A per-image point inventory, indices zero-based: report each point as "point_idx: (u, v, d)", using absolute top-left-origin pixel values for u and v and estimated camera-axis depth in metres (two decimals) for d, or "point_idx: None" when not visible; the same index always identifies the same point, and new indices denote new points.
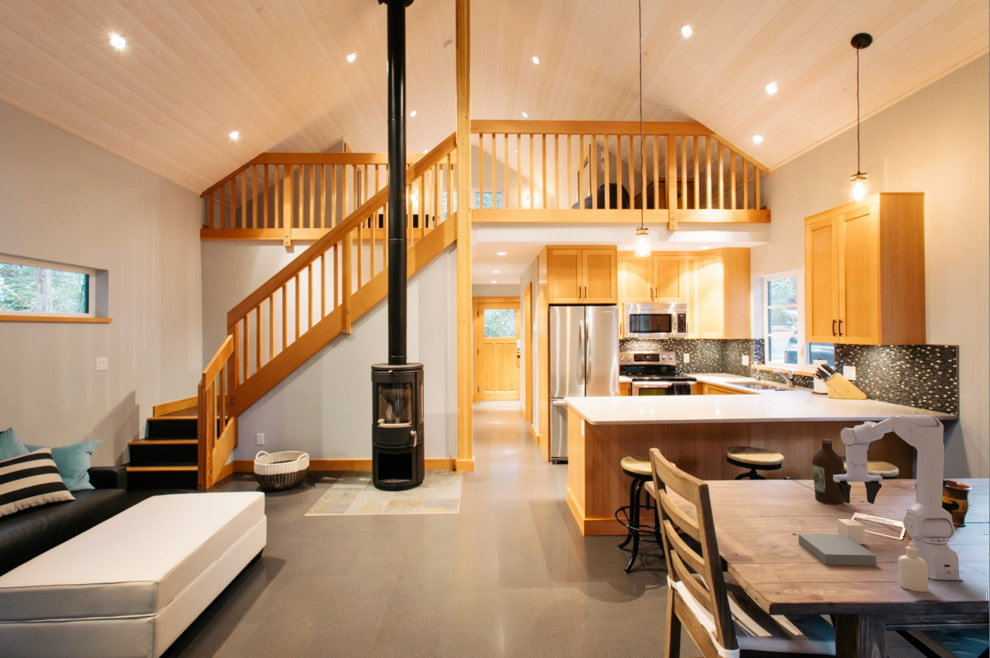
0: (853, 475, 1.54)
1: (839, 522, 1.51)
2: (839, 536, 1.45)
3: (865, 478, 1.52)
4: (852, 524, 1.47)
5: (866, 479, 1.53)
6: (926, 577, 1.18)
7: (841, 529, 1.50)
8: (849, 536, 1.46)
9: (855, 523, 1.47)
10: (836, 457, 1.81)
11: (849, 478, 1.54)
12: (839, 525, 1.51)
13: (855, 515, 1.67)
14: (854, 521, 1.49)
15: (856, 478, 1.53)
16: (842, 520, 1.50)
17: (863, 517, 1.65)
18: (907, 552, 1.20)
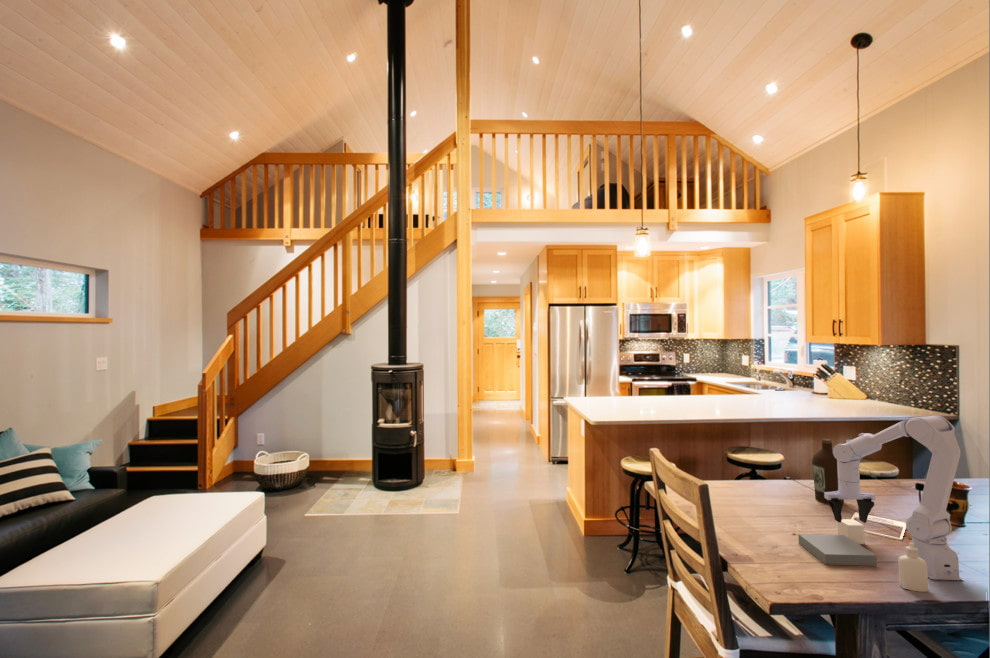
0: (845, 493, 1.48)
1: (839, 522, 1.51)
2: (839, 536, 1.45)
3: (857, 496, 1.46)
4: (852, 524, 1.47)
5: (858, 497, 1.46)
6: (926, 577, 1.18)
7: (841, 529, 1.50)
8: (849, 536, 1.46)
9: (855, 523, 1.47)
10: None
11: (841, 496, 1.48)
12: (839, 525, 1.51)
13: (855, 515, 1.67)
14: (854, 521, 1.49)
15: (848, 496, 1.47)
16: (842, 520, 1.50)
17: None
18: (907, 552, 1.20)
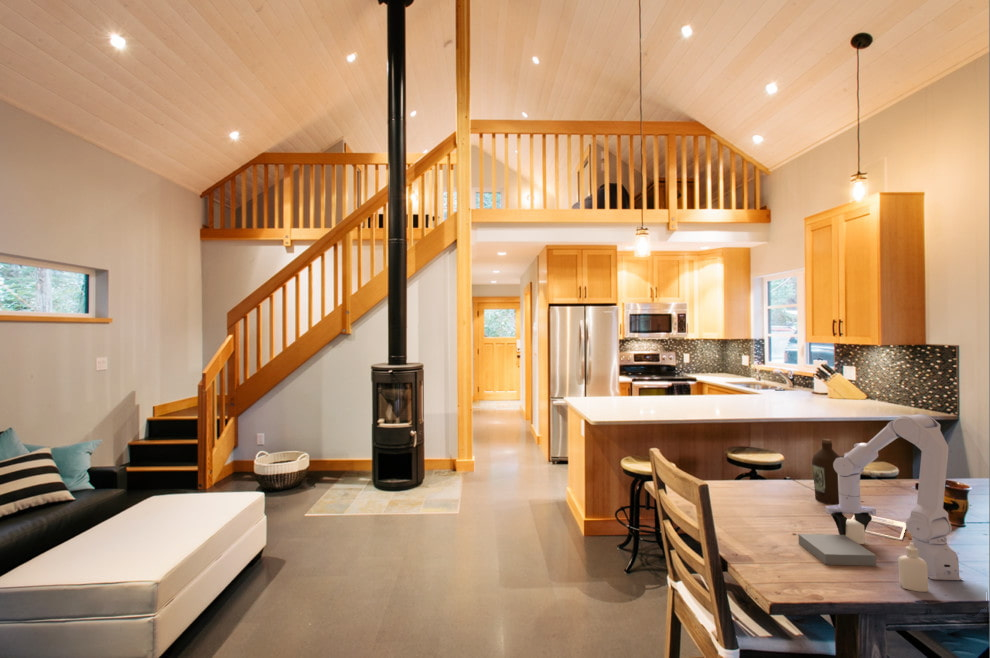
0: (845, 507, 1.47)
1: None
2: (839, 536, 1.45)
3: (858, 510, 1.46)
4: (852, 523, 1.47)
5: (859, 511, 1.46)
6: (926, 577, 1.18)
7: None
8: (849, 536, 1.46)
9: (855, 523, 1.48)
10: (836, 457, 1.81)
11: (841, 510, 1.47)
12: None
13: None
14: (854, 521, 1.49)
15: (849, 510, 1.47)
16: None
17: None
18: (907, 552, 1.20)
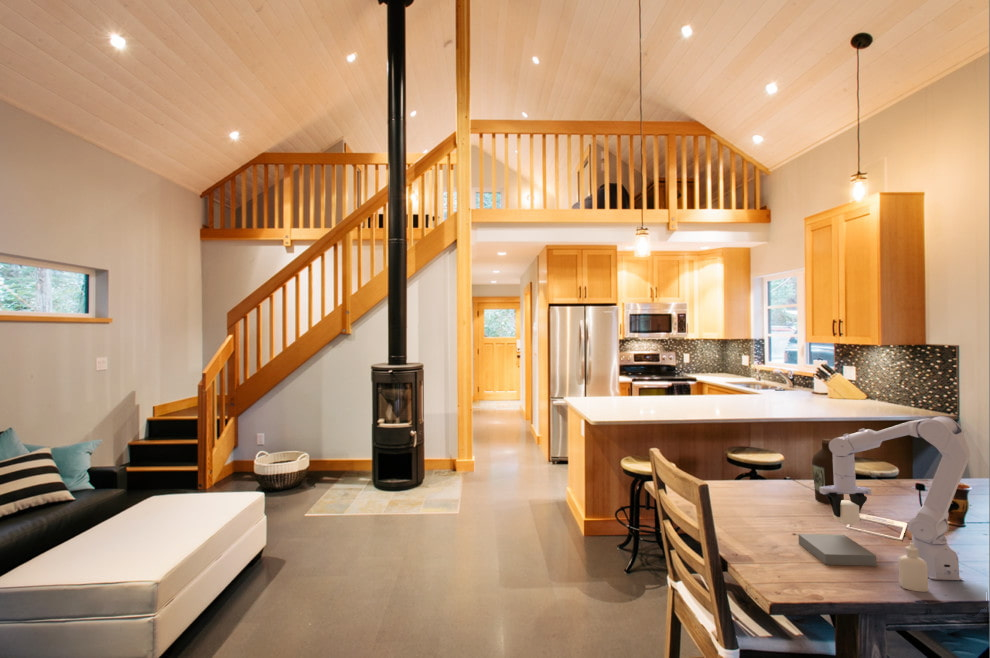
0: (840, 487, 1.45)
1: None
2: (839, 536, 1.45)
3: (853, 491, 1.44)
4: (846, 504, 1.45)
5: (854, 491, 1.44)
6: (926, 577, 1.18)
7: None
8: (844, 516, 1.44)
9: (850, 504, 1.45)
10: None
11: (836, 490, 1.45)
12: None
13: None
14: (849, 502, 1.47)
15: (843, 490, 1.45)
16: None
17: (863, 517, 1.65)
18: (907, 552, 1.20)
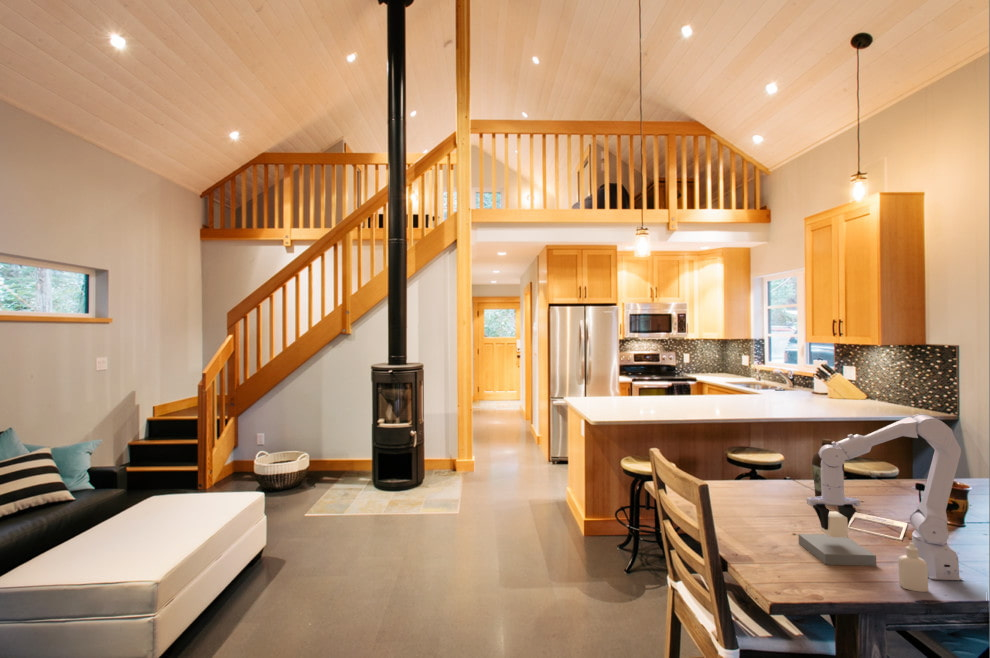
0: (828, 498, 1.39)
1: None
2: None
3: (841, 502, 1.37)
4: (834, 516, 1.39)
5: (842, 503, 1.37)
6: (926, 577, 1.18)
7: None
8: (831, 529, 1.38)
9: (838, 516, 1.39)
10: None
11: (824, 501, 1.39)
12: None
13: (855, 515, 1.67)
14: (837, 513, 1.41)
15: (831, 502, 1.38)
16: None
17: (863, 517, 1.65)
18: (907, 552, 1.20)
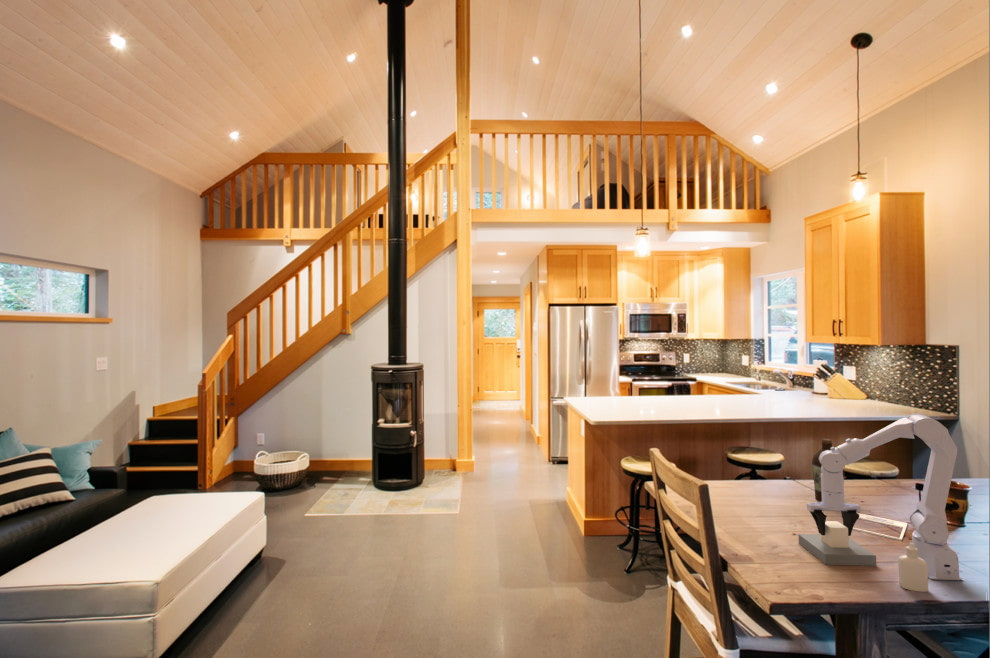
0: (828, 504, 1.39)
1: None
2: None
3: (842, 508, 1.37)
4: (835, 526, 1.39)
5: (842, 509, 1.37)
6: (926, 577, 1.18)
7: None
8: (832, 539, 1.38)
9: (839, 526, 1.39)
10: None
11: (824, 507, 1.39)
12: None
13: None
14: (837, 523, 1.41)
15: (832, 507, 1.38)
16: (825, 522, 1.42)
17: (863, 517, 1.65)
18: (907, 552, 1.20)
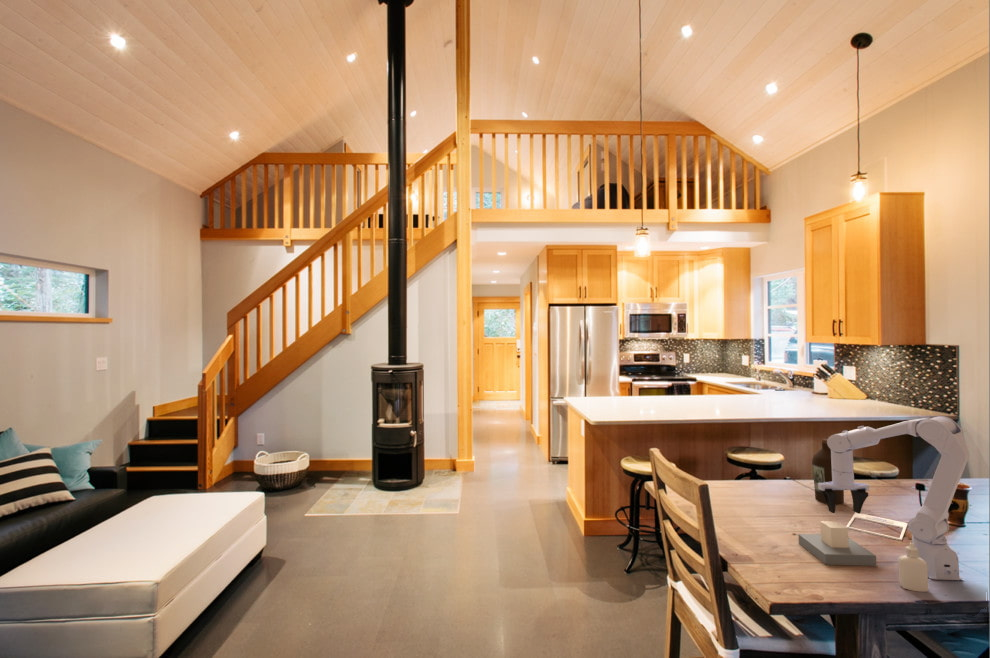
0: (839, 483, 1.46)
1: (822, 524, 1.42)
2: None
3: (851, 487, 1.44)
4: (835, 526, 1.39)
5: (852, 487, 1.44)
6: (926, 577, 1.18)
7: (824, 532, 1.41)
8: (832, 539, 1.38)
9: (839, 526, 1.39)
10: None
11: (834, 486, 1.46)
12: (821, 527, 1.42)
13: (855, 515, 1.67)
14: (837, 523, 1.41)
15: (842, 486, 1.45)
16: (825, 522, 1.42)
17: (863, 517, 1.65)
18: (907, 552, 1.20)
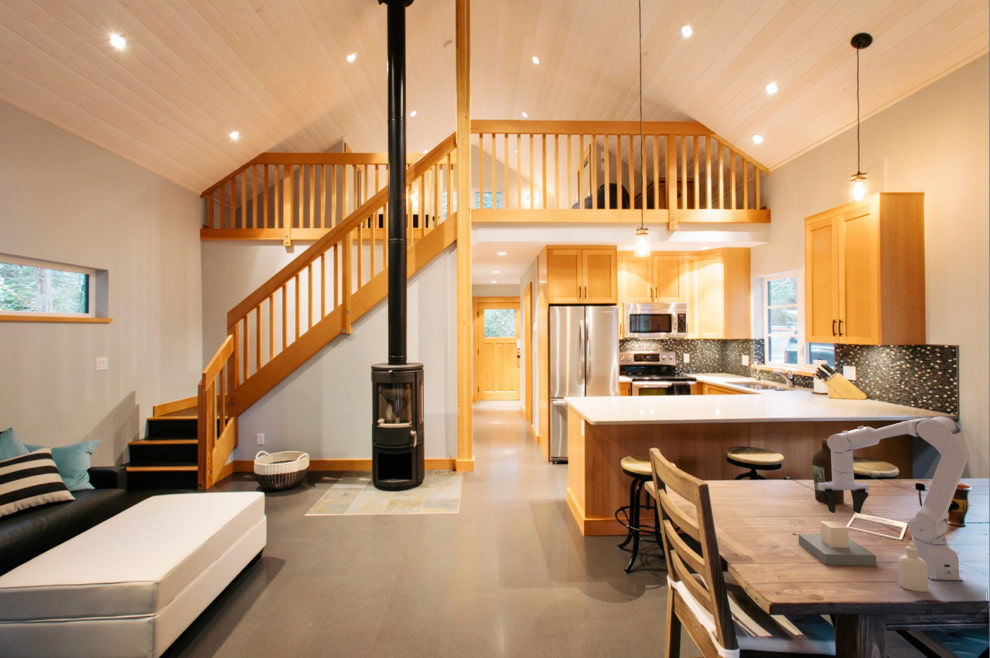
0: (839, 483, 1.46)
1: (822, 524, 1.42)
2: None
3: (851, 487, 1.44)
4: (835, 526, 1.39)
5: (852, 487, 1.44)
6: (926, 577, 1.18)
7: (824, 532, 1.41)
8: (832, 539, 1.38)
9: (839, 526, 1.39)
10: None
11: (834, 486, 1.46)
12: (821, 527, 1.42)
13: (855, 515, 1.67)
14: (837, 523, 1.41)
15: (842, 486, 1.45)
16: (825, 522, 1.42)
17: (863, 517, 1.65)
18: (907, 552, 1.20)
